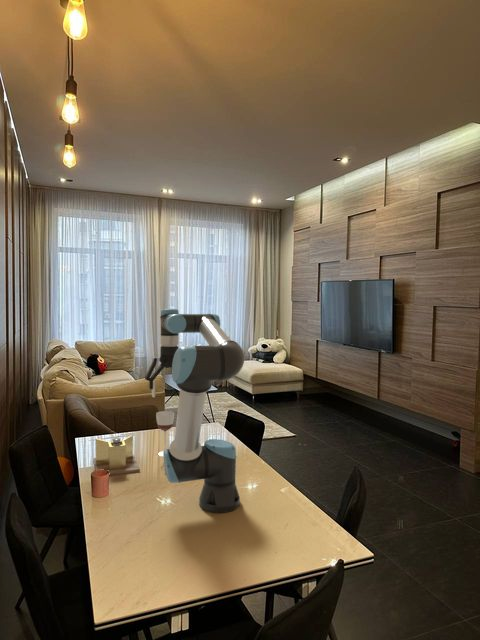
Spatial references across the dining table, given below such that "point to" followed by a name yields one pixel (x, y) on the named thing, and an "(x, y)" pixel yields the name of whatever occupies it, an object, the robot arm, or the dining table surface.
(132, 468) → the board
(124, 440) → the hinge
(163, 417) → the wineglass
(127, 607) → the dining table surface
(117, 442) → the pin
